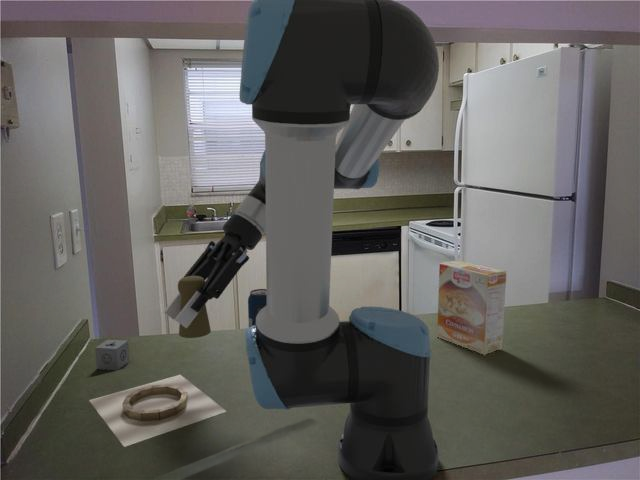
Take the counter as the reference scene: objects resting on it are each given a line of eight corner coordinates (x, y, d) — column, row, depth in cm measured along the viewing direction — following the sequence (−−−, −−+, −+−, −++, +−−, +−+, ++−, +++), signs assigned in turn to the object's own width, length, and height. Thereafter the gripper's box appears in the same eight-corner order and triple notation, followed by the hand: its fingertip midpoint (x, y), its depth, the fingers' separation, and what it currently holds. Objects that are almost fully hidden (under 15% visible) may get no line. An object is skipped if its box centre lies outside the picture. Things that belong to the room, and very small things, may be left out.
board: (226, 417, 92) (226, 411, 92) (124, 453, 81) (124, 446, 81) (180, 379, 108) (180, 374, 108) (89, 406, 97) (88, 400, 97)
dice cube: (96, 369, 114) (95, 347, 113) (109, 360, 119) (107, 339, 118) (118, 370, 113) (116, 348, 112) (129, 361, 118) (128, 340, 117)
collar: (197, 407, 93) (197, 400, 93) (136, 427, 87) (135, 419, 86) (172, 386, 102) (172, 379, 102) (115, 403, 95) (115, 395, 95)
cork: (202, 339, 96) (198, 281, 94) (172, 336, 98) (168, 280, 96) (216, 328, 102) (213, 273, 100) (188, 326, 103) (184, 272, 101)
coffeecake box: (435, 337, 132) (438, 262, 129) (455, 332, 136) (458, 259, 133) (483, 356, 120) (487, 274, 116) (503, 350, 123) (507, 270, 120)
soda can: (268, 330, 138) (267, 286, 136) (280, 338, 132) (280, 292, 130) (244, 335, 134) (243, 290, 132) (256, 343, 128) (254, 296, 126)
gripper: (284, 241, 98) (209, 344, 92) (239, 231, 113) (171, 318, 106) (258, 216, 94) (178, 321, 88) (216, 208, 109) (143, 298, 102)
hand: (174, 319), depth 97 cm, fingers closed on cork, 5 cm apart
